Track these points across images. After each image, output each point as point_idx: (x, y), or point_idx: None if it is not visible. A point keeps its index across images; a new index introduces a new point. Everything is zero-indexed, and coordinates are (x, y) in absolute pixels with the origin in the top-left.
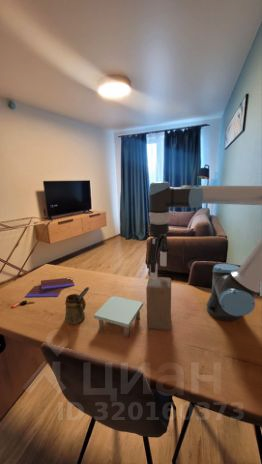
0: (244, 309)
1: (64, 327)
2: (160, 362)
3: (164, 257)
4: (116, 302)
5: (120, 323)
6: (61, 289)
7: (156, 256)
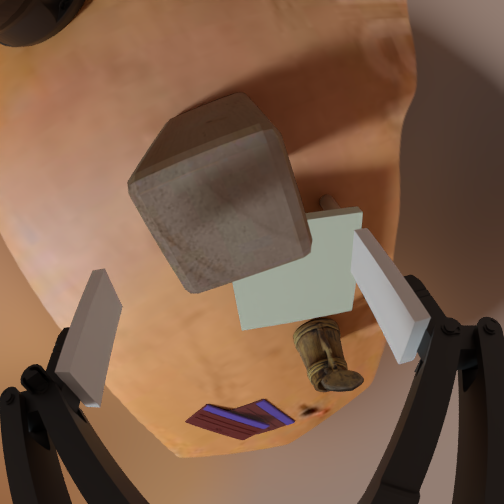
0: None
1: (349, 328)
2: (375, 79)
3: (90, 339)
4: (271, 301)
5: None
6: (239, 409)
7: (450, 390)
